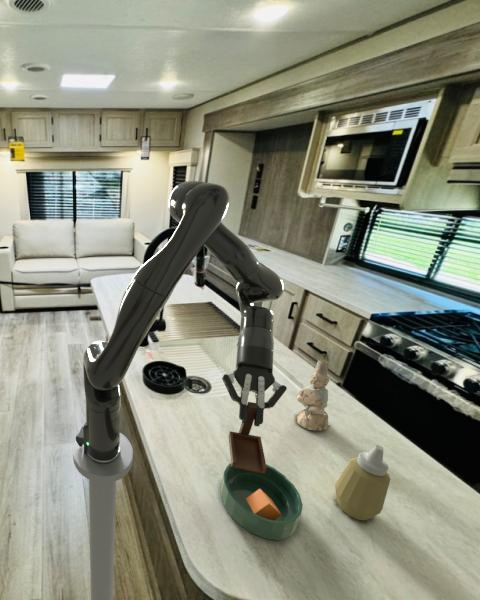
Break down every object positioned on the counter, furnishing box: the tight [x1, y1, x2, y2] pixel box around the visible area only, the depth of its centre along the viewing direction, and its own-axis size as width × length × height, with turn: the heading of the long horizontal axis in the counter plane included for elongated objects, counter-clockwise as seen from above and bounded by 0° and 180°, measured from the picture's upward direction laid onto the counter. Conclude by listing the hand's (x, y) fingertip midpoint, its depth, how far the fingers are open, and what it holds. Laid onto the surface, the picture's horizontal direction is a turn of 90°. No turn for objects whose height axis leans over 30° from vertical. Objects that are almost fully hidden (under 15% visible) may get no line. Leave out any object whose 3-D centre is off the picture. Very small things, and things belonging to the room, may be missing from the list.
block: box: [246, 489, 282, 520], centre depth 67 cm, size 4×4×4 cm
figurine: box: [296, 360, 331, 431], centre depth 90 cm, size 9×8×20 cm
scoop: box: [227, 401, 267, 473], centre depth 69 cm, size 9×7×12 cm
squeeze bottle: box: [334, 445, 391, 521], centre depth 67 cm, size 8×8×18 cm
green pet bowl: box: [220, 462, 303, 541], centre depth 70 cm, size 15×15×6 cm
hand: (250, 424), depth 69 cm, fingers closed on scoop
